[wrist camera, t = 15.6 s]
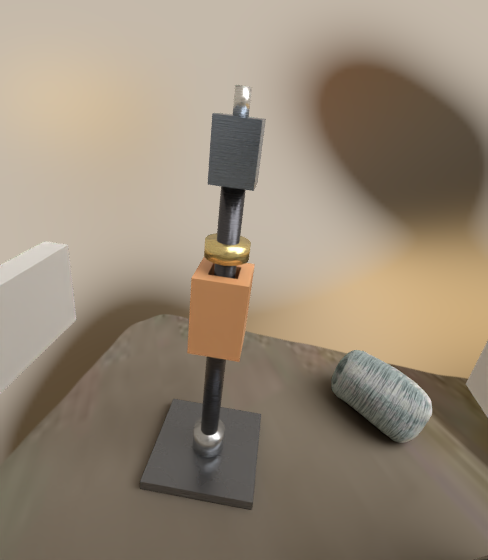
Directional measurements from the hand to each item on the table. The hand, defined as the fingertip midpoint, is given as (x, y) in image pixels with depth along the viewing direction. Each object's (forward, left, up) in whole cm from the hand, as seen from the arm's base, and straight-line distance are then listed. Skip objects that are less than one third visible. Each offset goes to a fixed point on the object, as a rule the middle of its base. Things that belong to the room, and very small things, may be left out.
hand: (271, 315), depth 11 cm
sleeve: (+4, -20, -16) cm, 26 cm away
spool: (-18, -31, -32) cm, 48 cm away
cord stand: (+4, -20, -32) cm, 38 cm away
